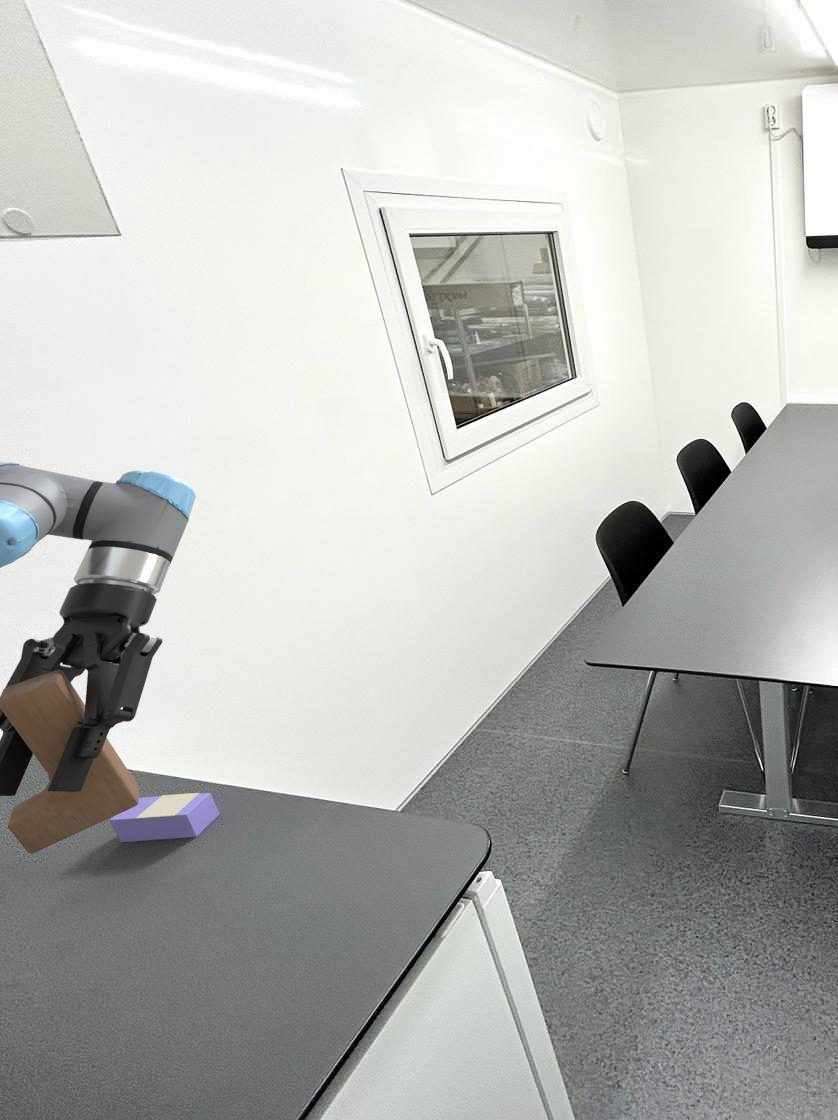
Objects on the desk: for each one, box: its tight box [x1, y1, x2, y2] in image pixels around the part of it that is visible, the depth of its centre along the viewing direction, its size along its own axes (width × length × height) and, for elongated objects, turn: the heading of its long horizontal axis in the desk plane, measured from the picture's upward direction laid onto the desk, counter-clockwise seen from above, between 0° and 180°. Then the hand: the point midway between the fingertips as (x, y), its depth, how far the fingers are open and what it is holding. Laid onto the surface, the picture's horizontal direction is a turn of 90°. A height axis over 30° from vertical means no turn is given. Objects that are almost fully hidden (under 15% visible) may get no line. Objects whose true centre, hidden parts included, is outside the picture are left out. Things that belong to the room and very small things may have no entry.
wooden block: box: [0, 670, 140, 855], centre depth 70 cm, size 9×4×18 cm, turn 136°
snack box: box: [108, 792, 221, 843], centre depth 87 cm, size 10×4×4 cm, turn 94°
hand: (31, 793), depth 67 cm, fingers closed on wooden block, 6 cm apart
